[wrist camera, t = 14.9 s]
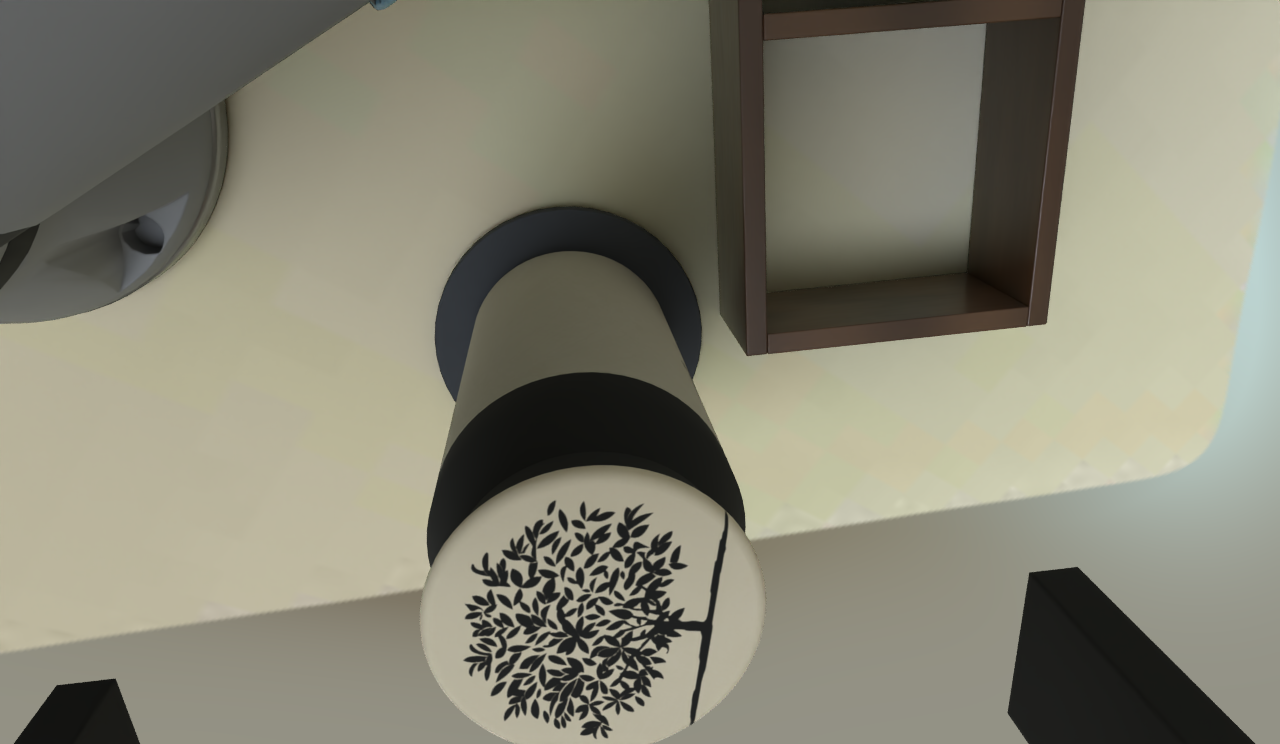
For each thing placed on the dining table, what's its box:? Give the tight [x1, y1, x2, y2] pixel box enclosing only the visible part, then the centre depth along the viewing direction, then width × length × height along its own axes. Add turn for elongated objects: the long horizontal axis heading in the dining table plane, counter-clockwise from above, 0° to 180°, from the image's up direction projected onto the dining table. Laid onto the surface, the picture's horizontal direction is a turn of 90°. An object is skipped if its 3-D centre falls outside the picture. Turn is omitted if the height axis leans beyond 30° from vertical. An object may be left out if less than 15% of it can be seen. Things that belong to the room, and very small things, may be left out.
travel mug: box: [420, 251, 766, 744], centre depth 26 cm, size 8×8×18 cm
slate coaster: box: [435, 207, 702, 402], centre depth 35 cm, size 11×11×1 cm
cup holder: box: [709, 0, 1085, 356], centre depth 30 cm, size 12×20×5 cm, turn 4°
